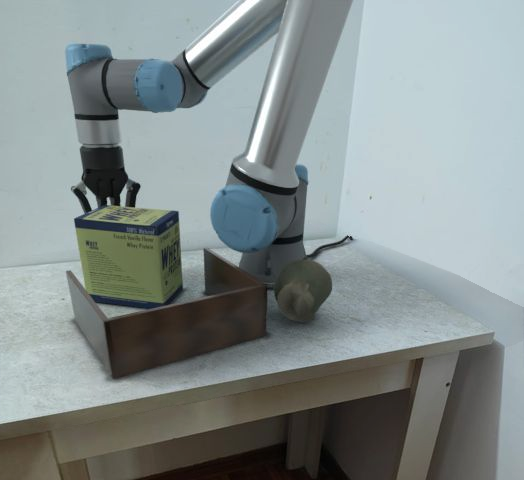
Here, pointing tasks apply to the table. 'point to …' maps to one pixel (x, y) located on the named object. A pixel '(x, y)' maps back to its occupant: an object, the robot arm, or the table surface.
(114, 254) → the protein box
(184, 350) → the compartment
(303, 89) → the robot arm
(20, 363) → the table surface
